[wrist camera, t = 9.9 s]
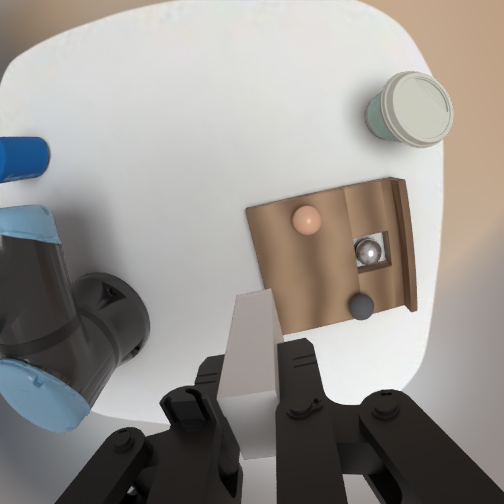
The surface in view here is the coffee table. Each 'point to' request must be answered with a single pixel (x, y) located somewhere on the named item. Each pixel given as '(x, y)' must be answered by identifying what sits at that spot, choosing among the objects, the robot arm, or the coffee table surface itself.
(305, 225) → the clay ball
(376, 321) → the coffee table surface
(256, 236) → the wooden board
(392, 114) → the coffee cup
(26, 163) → the beverage can
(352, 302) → the black ball
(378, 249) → the steel ball
